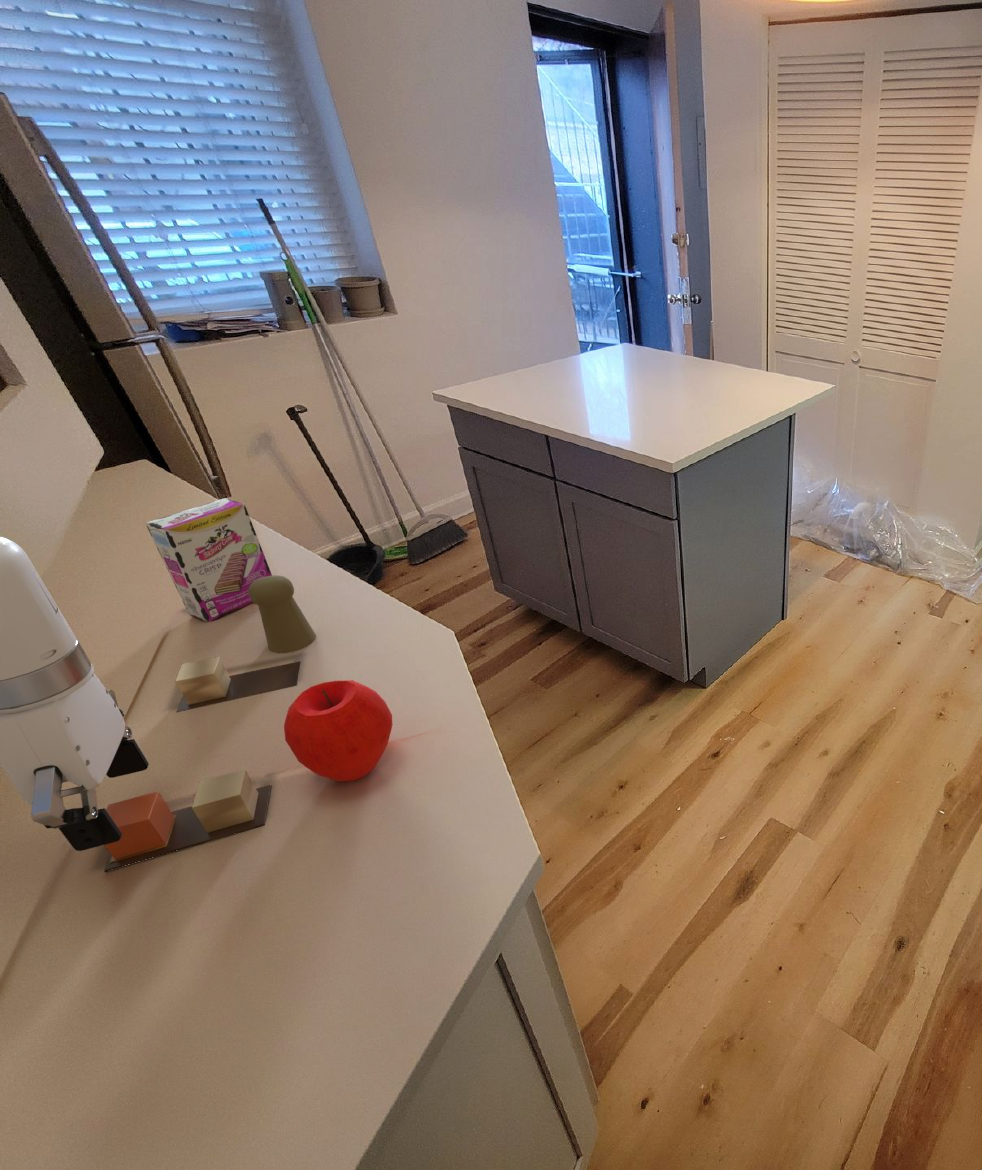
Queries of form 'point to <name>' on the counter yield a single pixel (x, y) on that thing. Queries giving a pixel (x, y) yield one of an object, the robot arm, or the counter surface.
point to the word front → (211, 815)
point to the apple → (338, 729)
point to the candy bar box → (211, 556)
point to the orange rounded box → (140, 824)
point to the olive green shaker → (281, 614)
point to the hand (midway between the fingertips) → (115, 805)
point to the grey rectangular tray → (229, 682)
